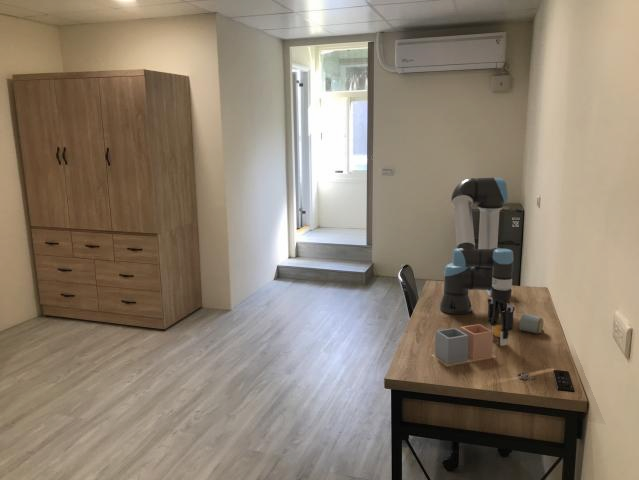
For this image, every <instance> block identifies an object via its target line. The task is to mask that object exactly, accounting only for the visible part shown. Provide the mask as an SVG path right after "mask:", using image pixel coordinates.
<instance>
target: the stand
mask: <svg viewBox="0 0 639 480" xmlns="http://www.w3.org/2000/svg"><path fill="white" fill-rule="evenodd" d="M493 343H494V344H496V345H498V346H499V345H500V338H499V337H496V336H495V335H493ZM500 346H501V345H500Z"/></svg>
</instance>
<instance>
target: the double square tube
mask: <svg viewBox="0 0 639 480" xmlns="http://www.w3.org/2000/svg"><path fill="white" fill-rule="evenodd" d="M434 336H435V339H434V340H435V342H434V343H435V345H434V347H435V348H434V354H430V356H431V357H433V358H434V359H436V360H437V361H439V363H441V364H443V365H444V366H445V367H451V366H456V365H462V364H466V363H473V362H479V361H483V360H489V359H495V358H497V356H496V355H494V354H493V346H494V345H493V343H494V342H493V331H491V328H488V327H486V326H484V325H482V324H481V323H477V324H472V325H464V326H460V327H459V329H458V328H457V327H451V328H447V329H446V328H445V329H440V330H439V329H438V330H435V335H434Z"/></svg>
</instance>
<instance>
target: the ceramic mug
mask: <svg viewBox="0 0 639 480" xmlns="http://www.w3.org/2000/svg"><path fill="white" fill-rule="evenodd" d="M543 328H544V318H542V317H540V316H538V315H534V314H530V313H525V312H523V313H522V315H521V316H520V320H519V329H520V331H522V332H527V333H531V334H541V332H542V331H543Z"/></svg>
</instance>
